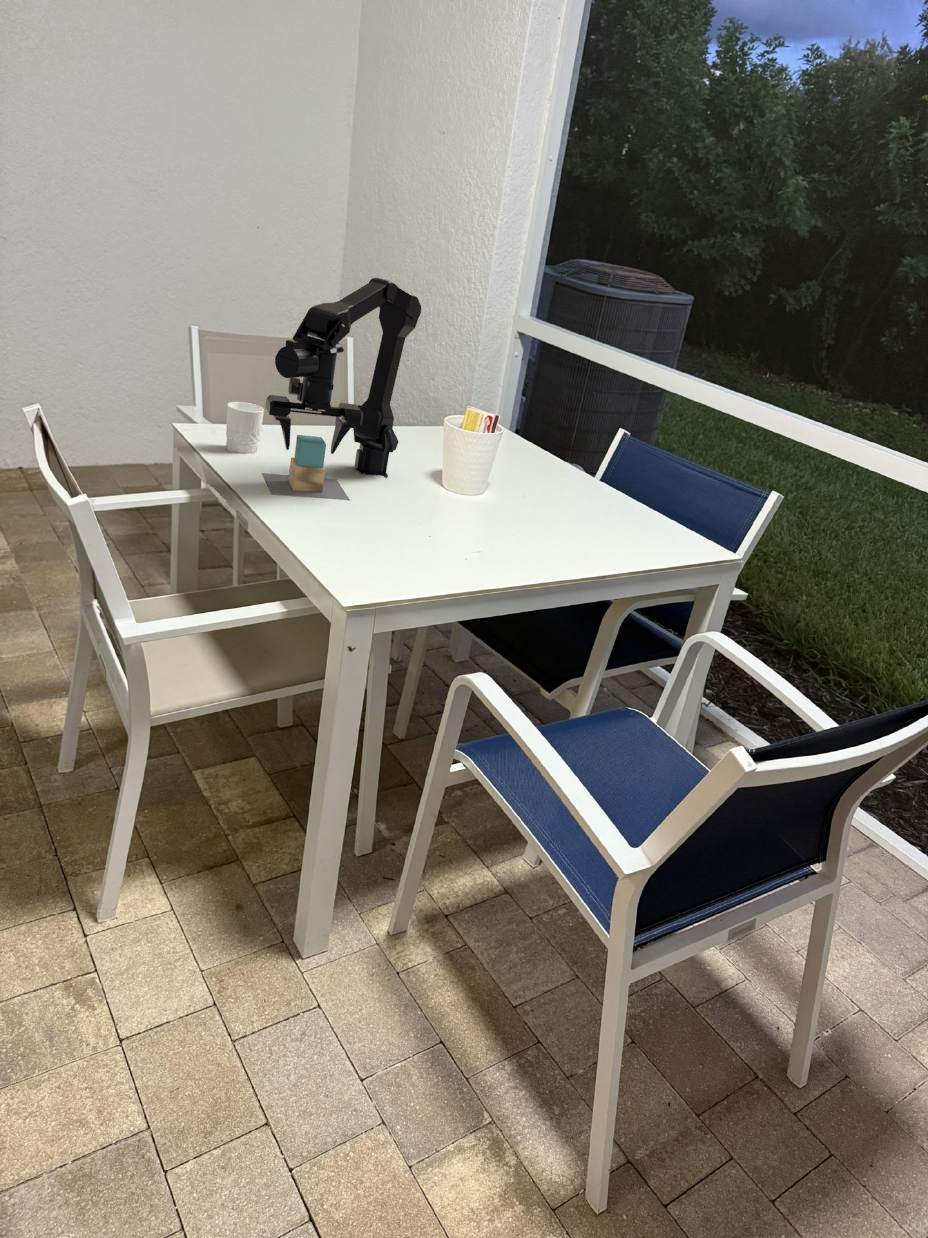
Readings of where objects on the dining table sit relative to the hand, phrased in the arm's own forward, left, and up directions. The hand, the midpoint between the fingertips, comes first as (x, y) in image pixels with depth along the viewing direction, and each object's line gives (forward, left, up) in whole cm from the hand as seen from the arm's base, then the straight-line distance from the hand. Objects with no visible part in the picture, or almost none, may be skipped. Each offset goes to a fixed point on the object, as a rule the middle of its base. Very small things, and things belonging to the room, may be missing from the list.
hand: (309, 451), depth 186 cm
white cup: (+10, -23, -8) cm, 26 cm away
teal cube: (0, 0, -2) cm, 3 cm away
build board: (0, 0, -8) cm, 8 cm away
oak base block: (0, 0, -8) cm, 8 cm away
